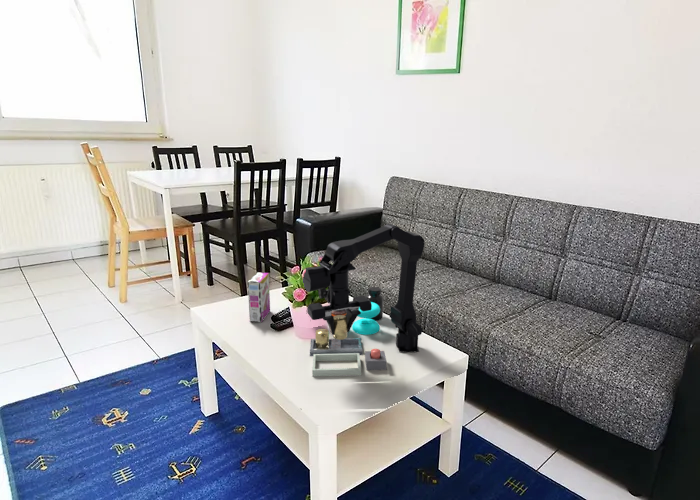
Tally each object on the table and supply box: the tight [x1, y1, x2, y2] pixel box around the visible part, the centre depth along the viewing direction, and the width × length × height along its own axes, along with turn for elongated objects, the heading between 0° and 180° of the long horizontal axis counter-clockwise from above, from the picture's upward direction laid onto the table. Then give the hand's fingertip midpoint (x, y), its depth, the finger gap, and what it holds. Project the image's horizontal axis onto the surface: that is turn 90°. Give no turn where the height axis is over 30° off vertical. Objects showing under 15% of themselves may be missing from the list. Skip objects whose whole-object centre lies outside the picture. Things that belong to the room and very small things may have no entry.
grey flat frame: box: [309, 337, 363, 357], centre depth 148 cm, size 17×10×2 cm, turn 92°
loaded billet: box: [315, 328, 330, 349], centre depth 147 cm, size 4×4×6 cm
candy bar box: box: [247, 271, 271, 323], centre depth 172 cm, size 11×5×16 cm, turn 172°
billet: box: [332, 315, 348, 340], centre depth 136 cm, size 4×4×6 cm
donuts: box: [351, 302, 381, 336], centre depth 161 cm, size 10×10×10 cm
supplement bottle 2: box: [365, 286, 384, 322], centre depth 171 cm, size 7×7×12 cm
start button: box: [370, 348, 381, 359], centre depth 137 cm, size 3×3×3 cm
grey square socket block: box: [364, 350, 387, 371], centre depth 138 cm, size 6×6×4 cm
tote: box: [311, 353, 362, 377], centre depth 136 cm, size 14×9×3 cm, turn 92°
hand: (340, 333), depth 136 cm, fingers closed on billet, 4 cm apart
